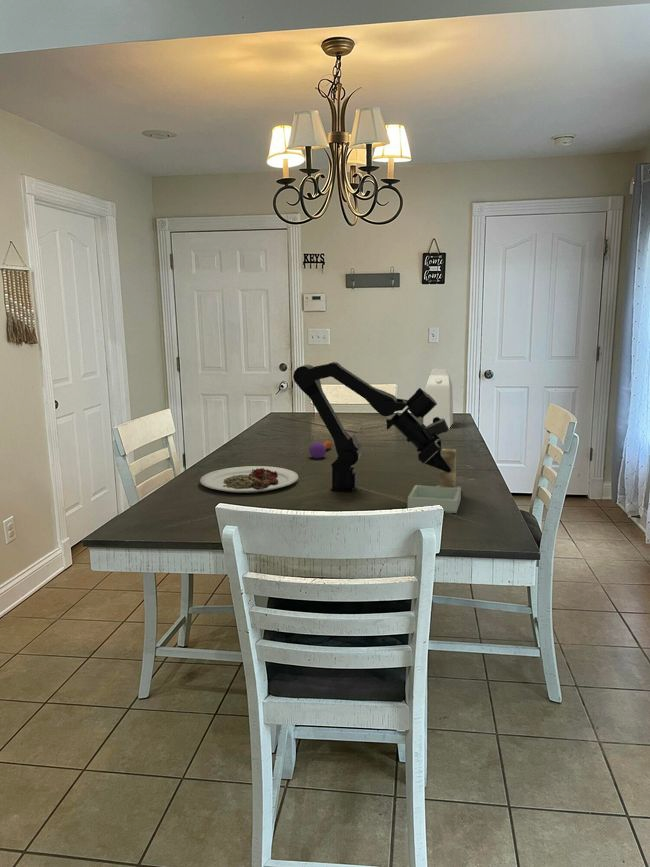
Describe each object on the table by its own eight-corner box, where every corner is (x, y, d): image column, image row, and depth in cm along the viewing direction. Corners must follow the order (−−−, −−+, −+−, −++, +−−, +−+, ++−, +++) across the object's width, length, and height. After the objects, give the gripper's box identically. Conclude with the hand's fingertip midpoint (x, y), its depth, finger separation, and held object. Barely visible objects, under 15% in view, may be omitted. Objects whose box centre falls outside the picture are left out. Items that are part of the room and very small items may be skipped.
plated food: (186, 495, 189) (185, 483, 188) (217, 470, 218) (216, 460, 217) (288, 498, 185) (288, 486, 184) (305, 472, 214) (305, 462, 213)
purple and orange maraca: (336, 438, 249) (325, 445, 230) (333, 454, 250) (322, 461, 231) (321, 435, 251) (309, 441, 231) (318, 450, 251) (305, 457, 232)
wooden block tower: (433, 495, 185) (434, 452, 183) (436, 489, 192) (437, 447, 189) (458, 497, 183) (459, 453, 181) (460, 490, 190) (462, 448, 187)
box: (407, 510, 171) (407, 497, 171) (414, 497, 183) (415, 485, 183) (456, 513, 168) (456, 500, 167) (460, 500, 180) (460, 488, 179)
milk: (452, 424, 300) (454, 368, 295) (449, 429, 289) (451, 370, 284) (426, 423, 304) (427, 367, 299) (422, 427, 293) (423, 370, 288)
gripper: (431, 414, 175) (472, 455, 175) (432, 404, 193) (470, 442, 193) (401, 442, 178) (442, 483, 178) (405, 430, 196) (442, 467, 196)
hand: (450, 467), depth 186 cm, fingers open, 9 cm apart
